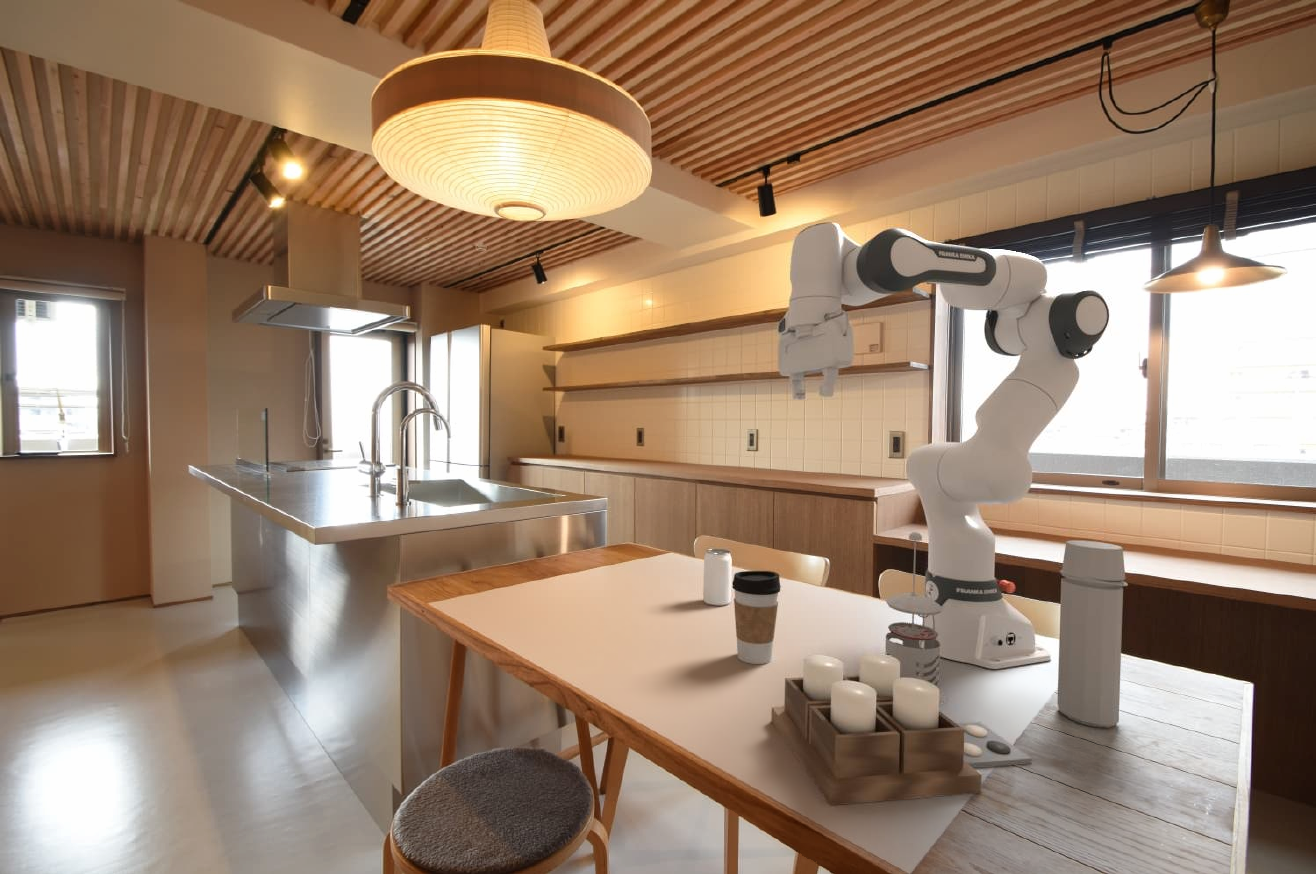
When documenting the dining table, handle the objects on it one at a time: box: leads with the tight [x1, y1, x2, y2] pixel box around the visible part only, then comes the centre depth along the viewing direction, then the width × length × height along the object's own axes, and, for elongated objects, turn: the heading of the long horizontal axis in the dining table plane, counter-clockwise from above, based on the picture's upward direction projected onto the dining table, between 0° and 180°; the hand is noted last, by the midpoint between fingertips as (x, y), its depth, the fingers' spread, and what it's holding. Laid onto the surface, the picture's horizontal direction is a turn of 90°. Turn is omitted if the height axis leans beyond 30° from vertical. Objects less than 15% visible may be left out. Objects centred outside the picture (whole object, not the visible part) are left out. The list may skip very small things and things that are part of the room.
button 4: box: [892, 678, 940, 731], centre depth 69 cm, size 5×5×5 cm
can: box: [702, 548, 733, 607], centre depth 135 cm, size 6×6×12 cm
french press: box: [884, 531, 947, 706], centre depth 91 cm, size 10×12×25 cm
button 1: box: [802, 654, 844, 701], centre depth 75 cm, size 5×5×5 cm
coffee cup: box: [731, 570, 782, 665], centre depth 102 cm, size 8×8×15 cm
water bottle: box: [1056, 540, 1129, 728], centre depth 83 cm, size 9×8×25 cm
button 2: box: [830, 680, 876, 735], centre depth 68 cm, size 5×5×5 cm
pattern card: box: [955, 721, 1033, 769], centre depth 75 cm, size 9×9×1 cm
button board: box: [770, 674, 982, 806], centre depth 72 cm, size 18×18×6 cm
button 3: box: [858, 652, 900, 698], centre depth 77 cm, size 5×5×5 cm
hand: (811, 398), depth 101 cm, fingers open, 8 cm apart
